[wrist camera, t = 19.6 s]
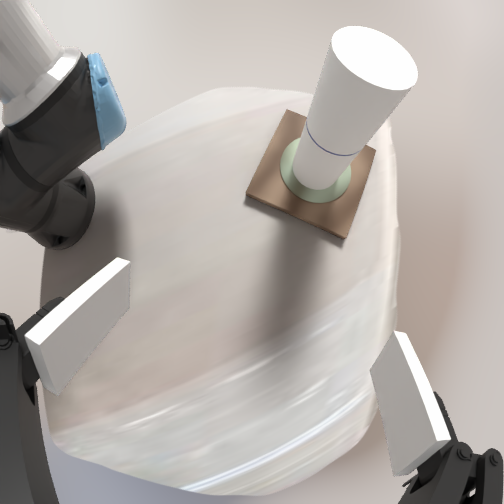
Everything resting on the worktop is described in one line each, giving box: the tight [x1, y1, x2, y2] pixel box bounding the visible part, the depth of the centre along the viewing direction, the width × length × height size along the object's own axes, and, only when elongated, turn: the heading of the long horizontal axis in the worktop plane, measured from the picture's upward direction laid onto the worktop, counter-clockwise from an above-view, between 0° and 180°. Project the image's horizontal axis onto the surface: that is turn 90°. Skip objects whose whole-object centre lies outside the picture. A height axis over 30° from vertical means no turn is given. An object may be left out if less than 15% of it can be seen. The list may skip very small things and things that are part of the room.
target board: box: [246, 110, 376, 239], centre depth 42 cm, size 16×16×2 cm
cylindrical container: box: [292, 26, 418, 190], centre depth 28 cm, size 7×7×25 cm
